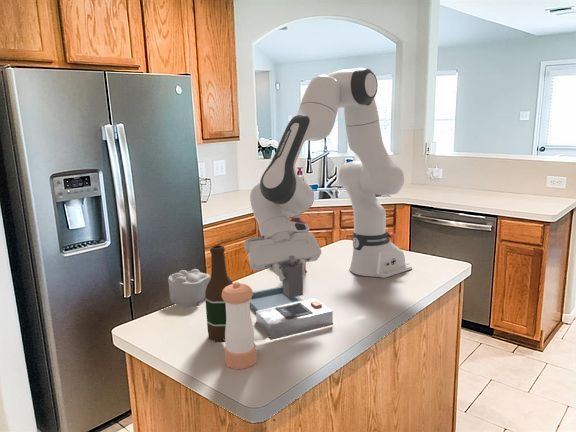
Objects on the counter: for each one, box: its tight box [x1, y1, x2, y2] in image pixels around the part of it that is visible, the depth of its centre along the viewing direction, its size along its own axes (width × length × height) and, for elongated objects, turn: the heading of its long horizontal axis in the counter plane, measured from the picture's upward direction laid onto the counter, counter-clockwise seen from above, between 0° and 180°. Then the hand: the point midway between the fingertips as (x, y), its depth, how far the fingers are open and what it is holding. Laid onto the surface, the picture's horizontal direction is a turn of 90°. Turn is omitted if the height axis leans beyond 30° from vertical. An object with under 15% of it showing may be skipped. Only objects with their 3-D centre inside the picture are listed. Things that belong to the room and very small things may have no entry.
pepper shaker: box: [221, 281, 257, 370], centre depth 104 cm, size 7×7×19 cm
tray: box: [250, 285, 304, 313], centre depth 137 cm, size 14×14×2 cm
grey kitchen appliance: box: [255, 298, 334, 341], centre depth 123 cm, size 18×10×5 cm, turn 115°
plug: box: [281, 256, 304, 298], centre depth 121 cm, size 4×4×10 cm
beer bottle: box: [204, 244, 234, 343], centre depth 116 cm, size 8×8×24 cm
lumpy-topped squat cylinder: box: [167, 268, 211, 307], centre depth 144 cm, size 10×13×9 cm
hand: (293, 278), depth 120 cm, fingers closed on plug, 4 cm apart
